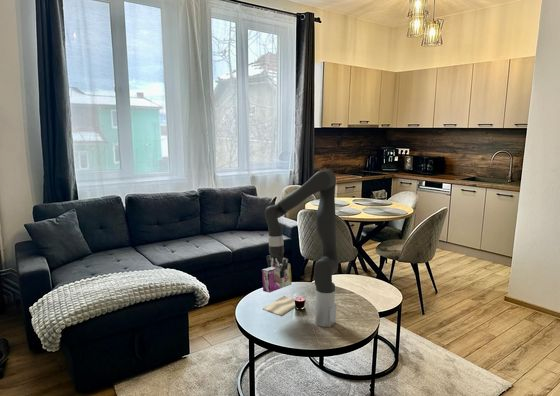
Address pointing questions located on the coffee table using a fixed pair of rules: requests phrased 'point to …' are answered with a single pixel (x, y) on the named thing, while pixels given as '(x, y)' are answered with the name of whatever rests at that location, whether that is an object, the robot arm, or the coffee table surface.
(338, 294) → the coffee table surface
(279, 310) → the beige board
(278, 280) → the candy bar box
